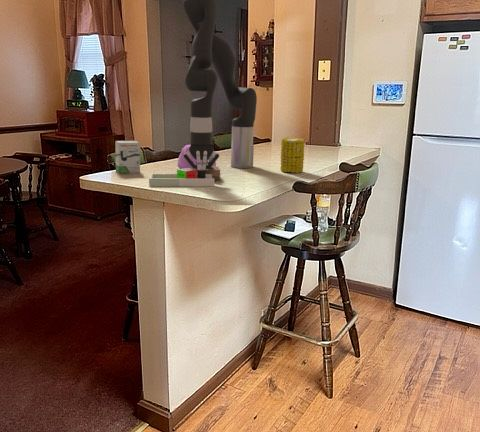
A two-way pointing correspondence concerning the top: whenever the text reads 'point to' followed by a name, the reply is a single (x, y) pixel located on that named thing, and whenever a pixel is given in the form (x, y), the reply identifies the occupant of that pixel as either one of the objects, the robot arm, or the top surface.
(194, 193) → the top surface
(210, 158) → the pin gauge
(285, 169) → the food
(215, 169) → the bore block
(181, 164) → the purple bag
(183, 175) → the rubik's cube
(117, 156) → the ink box
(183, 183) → the guide rails
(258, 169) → the top surface
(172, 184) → the tray
